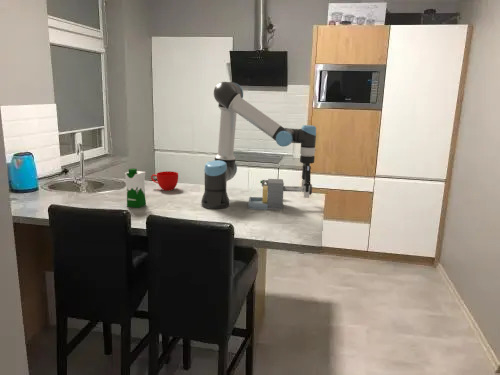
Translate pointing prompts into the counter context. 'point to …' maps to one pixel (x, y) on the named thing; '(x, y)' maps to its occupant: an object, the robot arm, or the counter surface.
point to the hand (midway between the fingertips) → (305, 194)
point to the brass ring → (265, 194)
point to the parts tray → (257, 203)
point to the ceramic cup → (166, 180)
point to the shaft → (296, 189)
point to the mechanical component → (264, 182)
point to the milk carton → (135, 188)
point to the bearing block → (275, 194)
